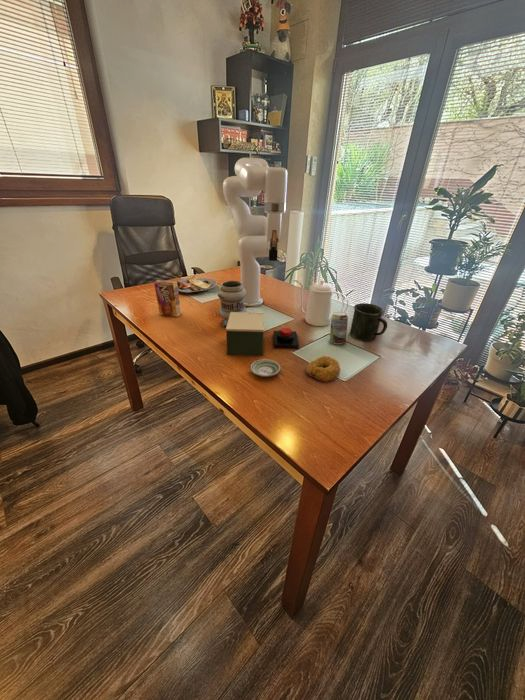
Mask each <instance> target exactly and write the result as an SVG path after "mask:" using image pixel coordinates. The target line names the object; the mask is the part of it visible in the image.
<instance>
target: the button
mask: <svg viewBox="0 0 525 700" xmlns="http://www.w3.org/2000/svg"><path fill="white" fill-rule="evenodd" d="M280 330H281V335H282V336H291V332H292V331H293V330H292V329H291V328H289V327H282V328H281V329H280Z"/></svg>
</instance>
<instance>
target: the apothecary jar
mask: <svg viewBox="0 0 525 700" xmlns="http://www.w3.org/2000/svg"><path fill="white" fill-rule="evenodd" d="M216 293H217V297H218V298H219V299H220V307H219V309H218V313H217V314H218V316H219V317H220V318H221V319H222V322H221V326H222V328H225V329H226V327H227V323H228V320H229V316H230V312H248V310H247V307H246V306H244V298H245V296H246V290H245V289H244V288H243V287H242V283H241V281H239V280H226V281H222V283H221V284H220V288H218V290H217V292H216Z"/></svg>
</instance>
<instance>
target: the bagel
mask: <svg viewBox="0 0 525 700" xmlns="http://www.w3.org/2000/svg"><path fill="white" fill-rule="evenodd" d="M305 372H306V374H307V375H308V376H311V377H314V379H316V380H318V381H321V382H331V381H333V380H335V379H337V378H338V376H339V375H340V374H341V373H340V372H341V365H340V363H339V361H338V360H336V359H335V358H334V357H331V356H327V355H323V356H320V357H317V358H316V359H314V360H311V362H309V363H308V365H307V366H306V367H305Z"/></svg>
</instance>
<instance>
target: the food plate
mask: <svg viewBox="0 0 525 700" xmlns="http://www.w3.org/2000/svg"><path fill="white" fill-rule="evenodd" d="M176 281H177V286H178V292H180V293H199V292H203V291H206V290H210V289H213V288H215V287H217V281H216V280H213V279H210V278H205V277H196V276H195V275H194V276H192V277H189V278H183V279H178V280H176Z"/></svg>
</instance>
